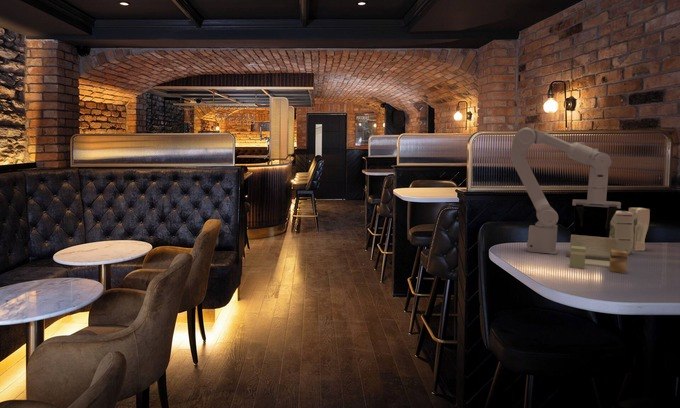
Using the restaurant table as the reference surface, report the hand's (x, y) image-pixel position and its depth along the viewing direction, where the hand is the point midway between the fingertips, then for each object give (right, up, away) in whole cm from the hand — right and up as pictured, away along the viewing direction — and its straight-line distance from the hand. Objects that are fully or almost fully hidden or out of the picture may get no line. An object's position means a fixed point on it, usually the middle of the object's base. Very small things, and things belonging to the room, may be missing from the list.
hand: (594, 227), depth 171 cm
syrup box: (+12, -9, +7) cm, 17 cm away
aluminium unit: (-2, -10, -3) cm, 11 cm away
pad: (-6, -11, -11) cm, 17 cm away
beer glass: (+21, -9, +12) cm, 26 cm away
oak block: (-3, -12, -20) cm, 24 cm away
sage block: (-13, -11, -16) cm, 24 cm away
